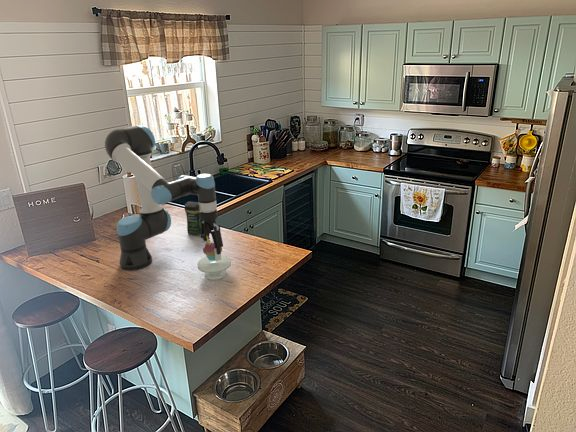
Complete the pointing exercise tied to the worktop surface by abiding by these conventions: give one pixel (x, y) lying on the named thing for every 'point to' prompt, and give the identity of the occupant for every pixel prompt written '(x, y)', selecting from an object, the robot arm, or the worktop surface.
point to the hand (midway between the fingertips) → (213, 256)
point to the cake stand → (214, 267)
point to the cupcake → (210, 250)
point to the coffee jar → (193, 218)
